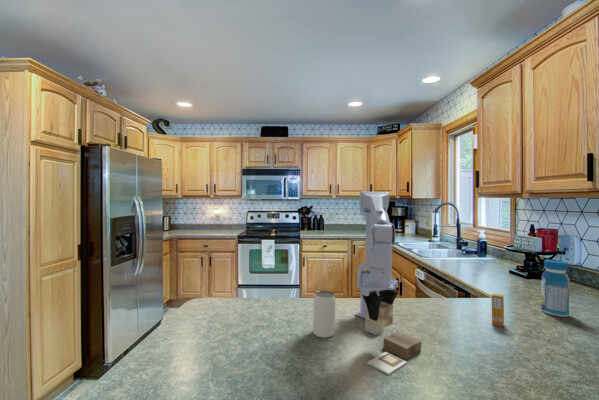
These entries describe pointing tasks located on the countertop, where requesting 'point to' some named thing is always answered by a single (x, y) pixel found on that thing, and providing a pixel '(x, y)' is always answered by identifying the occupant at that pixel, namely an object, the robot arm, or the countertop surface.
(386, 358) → the card
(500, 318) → the supplement box
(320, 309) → the can
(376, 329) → the grey cube
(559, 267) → the supplement bottle
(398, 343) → the walnut block
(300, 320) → the countertop surface
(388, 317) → the maple cube
